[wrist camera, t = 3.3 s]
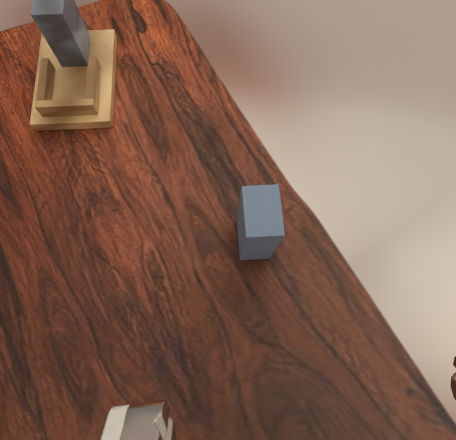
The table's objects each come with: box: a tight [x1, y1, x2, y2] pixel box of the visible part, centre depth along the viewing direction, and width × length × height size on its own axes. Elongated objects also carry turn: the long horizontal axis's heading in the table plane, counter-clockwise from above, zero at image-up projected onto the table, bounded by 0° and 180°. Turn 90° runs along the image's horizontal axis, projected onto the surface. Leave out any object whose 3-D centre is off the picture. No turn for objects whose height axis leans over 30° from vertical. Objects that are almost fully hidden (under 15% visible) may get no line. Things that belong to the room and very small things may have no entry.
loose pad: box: [237, 184, 285, 260], centre depth 36 cm, size 4×5×10 cm
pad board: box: [30, 0, 117, 131], centre depth 43 cm, size 10×15×10 cm, turn 4°
